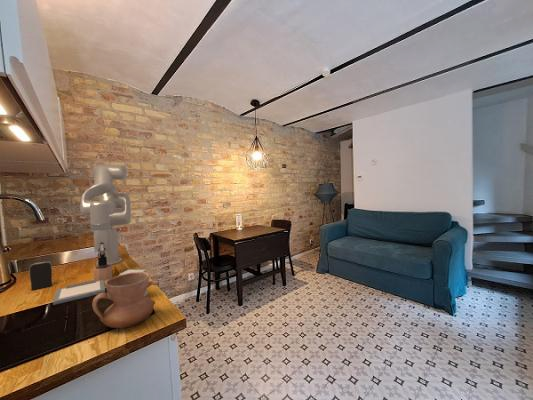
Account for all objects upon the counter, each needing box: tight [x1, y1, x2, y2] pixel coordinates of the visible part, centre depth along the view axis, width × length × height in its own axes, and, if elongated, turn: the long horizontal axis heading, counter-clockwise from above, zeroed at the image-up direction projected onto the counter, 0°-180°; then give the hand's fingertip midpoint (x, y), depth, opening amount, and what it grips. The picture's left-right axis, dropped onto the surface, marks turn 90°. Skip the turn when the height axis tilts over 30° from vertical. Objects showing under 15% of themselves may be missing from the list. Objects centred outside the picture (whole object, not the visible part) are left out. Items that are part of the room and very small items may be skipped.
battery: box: [28, 260, 53, 291], centre depth 100 cm, size 7×4×11 cm, turn 132°
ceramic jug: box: [91, 271, 158, 329], centre depth 74 cm, size 18×14×14 cm
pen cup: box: [93, 264, 113, 282], centre depth 109 cm, size 7×7×6 cm
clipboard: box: [52, 279, 106, 306], centre depth 95 cm, size 14×16×2 cm
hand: (102, 262), depth 109 cm, fingers open, 7 cm apart
